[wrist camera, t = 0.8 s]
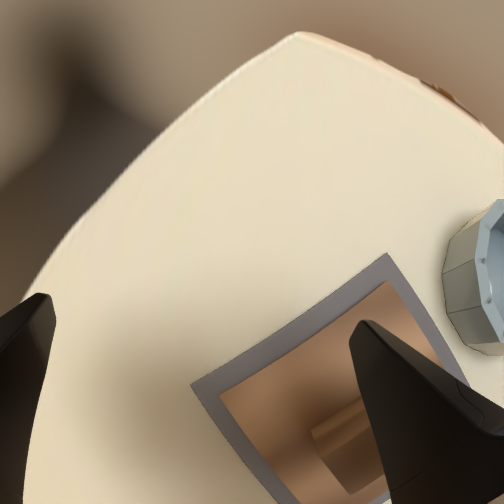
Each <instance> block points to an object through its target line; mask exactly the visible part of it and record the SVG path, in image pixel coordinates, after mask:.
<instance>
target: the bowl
mask: <svg viewBox="0 0 504 504" xmlns="http://www.w3.org/2000/svg"><path fill="white" fill-rule="evenodd" d="M442 280H443V287H444V294H445V302H446V310H447V313H448V314H447V315H448V317H449V318H450V320H451V322H452V323H453V325H454V327H455V328H456V330H457V332H458V334H459V335H460V337H461V339H462V341H463V343H464V344H465V345H467V346H469V347H471V348H473V349H476V350H478V351H480V352H482V353H484V354H486V355H504V199H498V200H496V201H495V202H494V203H492V204H491V205H490V206H489V207H487V208H486V209H485V210H484V211H482V212H481V213H480V214H478V215H477V216H476V217H474V218H473V219H472V220H470V221H469V222H468V223H467V224H466V225H465V226H464V227H463V228H462V229H461V230H460V231H459V232H458V233H457V234H456V235H455V236H454V237H453V238H452V239H451V240H450V243H449V247H448V251H447V256H446V260H445V264H444V268H443V271H442Z"/></svg>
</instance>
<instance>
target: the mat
mask: <svg viewBox="0 0 504 504" xmlns="http://www.w3.org/2000/svg"><path fill="white" fill-rule="evenodd" d="M387 280H389V282H390V283H391V285H392V286H393V288H394V289H395V290H396V292H397V293H398V295H399V296H400V298H401V299H402V301H403V302H404V304H405V305H406V307H407V308H408V310H409V311H410V313H411V315H412V316H413V318H414V319H415V321H416V322H417V324H418V325H419V327H420V329H421V330H422V332H423V333H424V335H425V337H426V338H427V340H428V342H429V343H430V345H431V347H432V348H433V350H434V352H435V353H436V355H437V357H438V358H439V360H440V362H441V363H442V365H443V367H444V369H445V370H446V371H447V372H448V373H450V374H451V375H453V376H454V378H457V379H458V380H460V381H461V382H463V383H464V384H465V385H467V386H468V387H470V385H469V383H468V382H467V380H466V378H465V376H464V374H463V372H462V370H461V368H460V366H459V365H458V363H457V361H456V359H455V357H454V356H453V354H452V352H451V350H450V348H449V347H448V345H447V343H446V342H445V340H444V338H443V336H442V335H441V333H440V331H439V330H438V328H437V326H436V325H435V323H434V322H433V320H432V318H431V317H430V315H429V314H428V312H427V310H426V309H425V307H424V306H423V304H422V303H421V301H420V300H419V298H418V296H417V295H416V293H415V292H414V290H413V289H412V287H411V286H410V284H409V283H408V282H407V280H406V279H405V277H404V276H403V274H402V273H401V271H400V270H399V269H398V267H397V266H396V264H395V263H394V262H393V260H392V259H391V257H390V256H389V255H388V253H385V254H384V255H383V256H382V257H380V258H379V259H378V260H376V261H375V262H374V263H373V264H371V265H370V266H369V267H367V268H366V269H365V270H363V271H362V272H361V273H360V274H358V275H357V276H356V277H354V278H353V279H352V280H350V281H349V282H348V283H346V284H345V285H343V286H342V287H341V288H339V289H338V290H337V291H335V292H334V293H332V294H331V295H330V296H328V297H327V298H326V299H324V300H323V301H321V302H320V303H318V304H317V305H316V306H314V307H313V308H311V309H310V310H308V311H307V312H306V313H304V314H303V315H301V316H300V317H298V318H297V319H295V320H294V321H292V322H291V323H289V324H288V325H286V326H285V327H283V328H282V329H280V330H279V331H277V332H276V333H274V334H273V335H271V336H270V337H268V338H267V339H265V340H264V341H262V342H260V343H259V344H257V345H256V346H254V347H253V348H251V349H249V350H248V351H246V352H245V353H243V354H241V355H240V356H238V357H236V358H235V359H233V360H232V361H230V362H228V363H227V364H225V365H223V366H222V367H220V368H218V369H217V370H215V371H213V372H211V373H210V374H208V375H206V376H205V377H203V378H201V379H199V380H198V381H196V382H194V383H192V384H191V385H190V386H191V388H192V389H193V391H194V392H195V394H196V396H197V397H198V399H199V400H200V402H201V403H202V405H203V406H204V408H205V409H206V411H207V412H208V414H209V415H210V417H211V418H212V419H213V421H214V422H215V424H216V425H217V427H218V428H219V429H220V431H221V432H222V434H223V435H224V436H225V438H226V439H227V441H228V442H229V443H230V445H231V446H232V447H233V449H234V450H235V451H236V453H237V454H238V455H239V456H240V458H241V459H242V460H243V462H244V463H245V464H246V465H247V467H248V468H249V469H250V471H251V472H252V473H253V474H254V475H255V477H256V478H257V479H258V480H259V482H260V483H261V484H262V485H263V486H264V487H265V489H266V490H267V491H268V492H269V493H270V494H271V496H272V497H273V498H274V499H275V500H276V501H277V502H278V504H301V503H300V502H299V500H298V499H297V498H296V497H295V496H294V495H293V494H292V492H291V491H290V490H289V489H288V488H287V487H286V485H285V484H284V483H283V482H282V481H281V479H280V478H279V477H278V476H277V475H276V473H275V472H274V471H273V470H272V468H271V467H270V466H269V465H268V463H267V462H266V461H265V459H264V458H263V457H262V456H261V454H260V453H259V452H258V450H257V449H256V448H255V446H254V445H253V444H252V442H251V441H250V440H249V438H248V437H247V436H246V434H245V433H244V432H243V430H242V429H241V427H240V426H239V425H238V423H237V422H236V420H235V419H234V418H233V416H232V415H231V413H230V412H229V410H228V409H227V408H226V406H225V405H224V403H223V402H222V400H221V399H220V397H219V395H220V394H221V393H223V392H224V391H226V390H228V389H229V388H231V387H233V386H235V385H236V384H238V383H240V382H241V381H243V380H245V379H246V378H248V377H250V376H251V375H253V374H255V373H256V372H258V371H260V370H261V369H263V368H264V367H266V366H268V365H269V364H271V363H272V362H274V361H276V360H277V359H279V358H280V357H282V356H283V355H285V354H286V353H288V352H289V351H291V350H292V349H294V348H295V347H297V346H298V345H300V344H301V343H303V342H304V341H306V340H307V339H309V338H310V337H312V336H313V335H314V334H316V333H317V332H319V331H320V330H322V329H323V328H324V327H326V326H327V325H329V324H330V323H331V322H333V321H334V320H335V319H337V318H338V317H340V316H341V315H342V314H344V313H345V312H346V311H348V310H349V309H350V308H352V307H353V306H354V305H356V304H357V303H358V302H359V301H361V300H362V299H363V298H365V297H366V296H367V295H369V294H370V293H371V292H372V291H374V290H375V289H376V288H377V287H379V286H380V285H381V284H382V283H384V282H385V281H387ZM470 388H471V387H470ZM390 498H391V497H390V492H389V490H388V491H386V492H385V493H383V494H382V495H380V496H379V497H377V498H376V499H374V500H373V501H371V502H369V503H368V504H382V503H384V502H385V501H387V500H388V499H390Z"/></svg>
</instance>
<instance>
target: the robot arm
mask: <svg viewBox="0 0 504 504" xmlns="http://www.w3.org/2000/svg"><path fill="white" fill-rule="evenodd" d="M55 327H56V315H55V311H54V307H53V302H52V298H51V296H50V295H49V294H44V293H36V294H34V295H32V296H31V297H29V298H28V299H26V300H25V301H23V302H22V303H20V304H19V305H17V306H16V307H15V308H13V309H12V310H10V311H9V312H7V313H6V314H4V315H3V316H1V317H0V504H23V499H22V498H23V490H24V479H25V471H26V463H27V456H28V450H29V444H30V438H31V433H32V428H33V423H34V418H35V414H36V409H37V405H38V401H39V397H40V393H41V389H42V385H43V382H44V378H45V374H46V370H47V365H48V360H49V355H50V350H51V345H52V340H53V336H54V331H55ZM349 349H350V353H351V357H352V361H353V366H354V370H355V375H356V379H357V384H358V387H359V391H360V394H361V397H362V400H363V403H364V406H365V409H366V413H367V416H368V419H369V422H370V425H371V429H372V432H373V435H374V439H375V442H376V446H377V449H378V452H379V456H380V459H381V463H382V467H383V470H384V474H385V478H386V481H387V485H388V489H389V492H390V497H391V501H392V504H504V408H502V407H500V406H499V405H497V404H495V403H494V402H492V401H490V400H489V399H487V398H485V397H484V396H482V395H481V394H479V393H477V392H476V391H474V390H473V389H471V388H470V387H468V386H467V385H465V384H464V383H463V382H461V381H460V380H458V379H457V378H454V376H453V375H451V374H450V373H448V372H447V371H445V370H444V369H443V368H441V367H440V366H438V365H437V364H435V363H434V362H433V361H431V360H430V359H428V358H427V357H425V356H424V355H423V354H421V353H420V352H418V351H417V350H415V349H414V348H413V347H411V346H410V345H408V344H407V343H405V342H404V341H403V340H401V339H400V338H398V337H397V336H395V335H394V334H392V333H391V332H390V331H388V330H387V329H385V328H384V327H382V326H381V325H379V324H378V323H376V322H375V321H374V320H371V319H362V320H360V321H359V322H358V323H357V325H356V327H355V329H354V331H353V333H352V334H351V336H350V338H349Z"/></svg>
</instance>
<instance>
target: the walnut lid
mask: <svg viewBox="0 0 504 504" xmlns="http://www.w3.org/2000/svg"><path fill="white" fill-rule="evenodd" d="M362 319H371V320H374V321H375V322H376V323H378V324H379V325H381V326H382V327H384V328H385V329H387V330H388V331H390V332H391V333H392V334H394V335H395V336H397V337H398V338H400V339H401V340H403V341H404V342H405V343H407V344H408V345H410V346H411V347H413V348H414V349H415V350H417V351H418V352H420V353H421V354H423V355H424V356H425V357H427V358H428V359H430V360H431V361H433V362H434V363H435V364H437V365H438V366H440V367H441V368H443V369H444V367H443V365H442V363H441V362H440V360H439V358H438V357H437V355H436V353H435V352H434V350H433V348H432V347H431V345H430V343H429V342H428V340H427V338H426V337H425V335H424V333H423V332H422V330H421V329H420V327H419V325H418V324H417V322H416V321H415V319H414V318H413V316H412V315H411V313H410V311H409V310H408V308H407V307H406V305H405V304H404V302H403V301H402V299H401V298H400V296H399V295H398V293H397V292H396V290H395V289H394V288H393V286H392V285H391V283H390V282H389V280H387V281H385V282H384V283H382V284H381V285H380V286H379V287H377V288H376V289H375V290H374V291H372V292H371V293H370V294H369V295H367V296H366V297H365V298H363V299H362V300H361V301H359V302H358V303H357V304H356V305H354V306H353V307H352V308H350V309H349V310H348V311H346V312H345V313H344V314H342V315H341V316H340V317H338V318H337V319H335V320H334V321H333V322H331V323H330V324H329V325H327V326H326V327H324V328H323V329H322V330H320V331H319V332H317V333H316V334H314V335H313V336H312V337H310V338H309V339H307V340H306V341H304V342H303V343H301V344H300V345H298V346H297V347H295V348H294V349H292V350H291V351H289V352H288V353H286V354H285V355H283V356H282V357H280V358H279V359H277V360H276V361H274V362H272V363H271V364H269V365H268V366H266V367H264V368H263V369H261V370H260V371H258V372H256V373H255V374H253V375H251V376H250V377H248V378H246V379H245V380H243V381H241V382H240V383H238V384H236V385H235V386H233V387H231V388H229V389H228V390H226V391H224V392H223V393H221V394H220V395H219V397H220V399H221V400H222V402H223V403H224V405H225V406H226V408H227V409H228V410H229V412H230V413H231V415H232V416H233V418H234V419H235V420H236V422H237V423H238V425H239V426H240V427H241V429H242V430H243V432H244V433H245V434H246V436H247V437H248V438H249V440H250V441H251V442H252V444H253V445H254V446H255V448H256V449H257V450H258V452H259V453H260V454H261V456H262V457H263V458H264V459H265V461H266V462H267V463H268V465H269V466H270V467H271V468H272V470H273V471H274V472H275V473H276V475H277V476H278V477H279V478H280V479H281V481H282V482H283V483H284V484H285V485H286V487H287V488H288V489H289V490H290V491H291V492H292V494H293V495H294V496H295V497H296V498H297V499H298V500H299V502H300V503H301V504H368V503H369V502H371V501H373V500H374V499H376V498H377V497H379V496H380V495H382V494H383V493H385V492H386V491H388V490H389V489H388V485H387V481H386V478H385V474H384V470H383V467H382V463H381V459H380V456H379V452H378V449H377V446H376V442H375V439H374V435H373V432H372V429H371V425H370V422H369V419H368V416H367V413H366V409H365V406H364V403H363V400H362V397H361V394H360V391H359V387H358V384H357V379H356V375H355V370H354V366H353V361H352V357H351V353H350V349H349V338H350V336H351V334H352V333H353V331H354V329H355V327H356V325H357V323H358V322H359V321H360V320H362ZM444 370H445V369H444ZM445 371H446V370H445Z"/></svg>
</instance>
